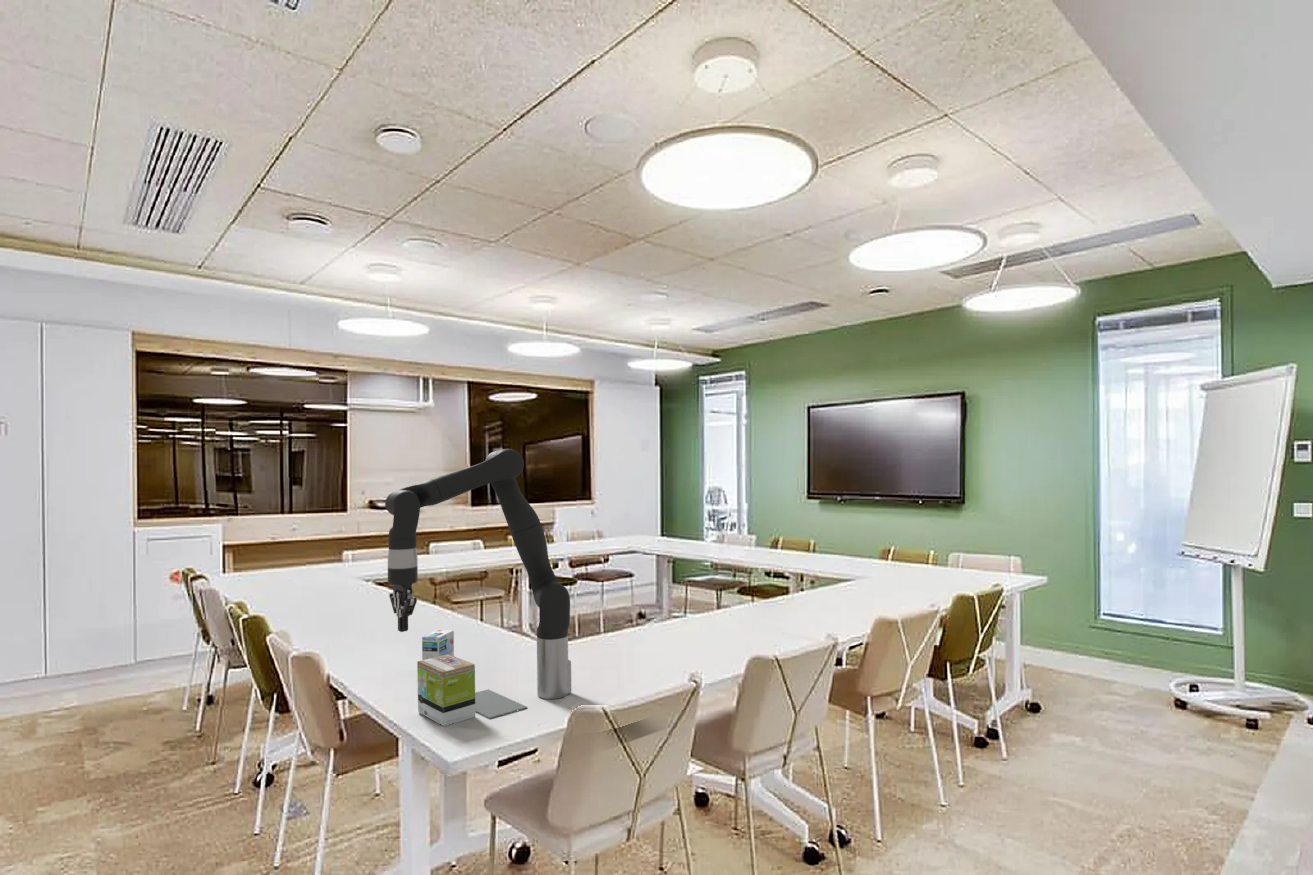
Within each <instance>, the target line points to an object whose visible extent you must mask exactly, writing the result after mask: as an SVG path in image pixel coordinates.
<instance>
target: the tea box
mask: <svg viewBox="0 0 1313 875" xmlns="http://www.w3.org/2000/svg"><path fill="white" fill-rule="evenodd" d="M416 663H417V666H416V668H417V669H416V670H417V671H416V672H417V710H418V713H419V714H421V715H423V716H425V717H427V718H429V719H430V720H431V721H434V722H435V723H437V724H439V725H440V724H441V725H440V726H442V727H446V725H447V726H450V725H453V724H452V723H454V724H457V723H460V722H463V721H466V720H470V719H473V718H475V717H476V712H475V693H476V669H475V668H476V666H475V665H476V664H475V663H472V662H469V661H467V660H464V659H462V658H459V657H456V656H455V655H454V656H452V655H449V654H447V655H442V656H438V657H434V658H430V659H426V660H422V659H421V660H417V662H416ZM449 724H450V725H449Z"/></svg>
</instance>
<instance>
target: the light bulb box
mask: <svg viewBox="0 0 1313 875" xmlns="http://www.w3.org/2000/svg"><path fill="white" fill-rule="evenodd" d="M421 643H422V644H421V648H422V650H421V651H422V653H421V654H422V655H421V656H422V657H421V661H422V660H426V659H430V658H434V657H438V656H442V655H447V654H449V655H452V656H454V657H455V649H454V648H455V646H454V645H455V632H454V630H447V629H436V630H433V631H432V632H430V633H428V634H426V635H423V636H422V637H421Z"/></svg>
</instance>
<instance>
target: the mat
mask: <svg viewBox="0 0 1313 875" xmlns="http://www.w3.org/2000/svg"><path fill="white" fill-rule="evenodd" d="M525 708H527V709H528V706H526V705H524V704H522V703H520V702H517V701H515V700H513V699H511V698H509V697H506V696H504V695H502V694H499V693H498V692H496V691H493V690H490V689H484V690H481V691H475V714H476V713H477V714H479V715H480V714H481V716H482V715H483V716H482V717H484V718H487V719H488V720H492V719H495V718H498V717H501V716H500V715H502V716H504V715H503V714H506V715H508V713H509V714H512V713H511V712H513V713H515V711H516V712H518V711H517V710H520V711H523V710H526V709H525ZM497 716H498V717H497Z"/></svg>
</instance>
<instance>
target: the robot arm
mask: <svg viewBox="0 0 1313 875" xmlns="http://www.w3.org/2000/svg"><path fill="white" fill-rule="evenodd" d="M524 466H525V462H524V458H523V455H522V454H521V453H520V452H519V451H517V450H515V449H511V448H502V449H499V450H494V451H492V452H490V453H489V454H488V455H487V456H486V458H485V460H484V461H483V462H479V463H477V464H474V465H471V466H468V467H466V468H461V469H458V470H453V471H451V472H447V473H444V474H441V475H438V476H435V477H433V478H430V479H428V480H426V481H422V482H421V483H418V484H413V485H409V486H405V487H402V488H399V489H396V490H393V491H391V493H389V494H388V495H387V497H386V499H385V502H384V506H385V509H386V511H387V513H389V514H390V515H392V516H393V518H392V527H390V528H389V530H388V552H387V584H388V585H390V586H393V587H392V590H393V591H392V593H389V596H388V597H389V600H390V603H391V607H392V611H393V614H396V617H397V631H398V632H400V633H403V632H408V630H409V617H410V616H412V615H413V614H414V611H415V607H416V606H417V603H418V599H417V597H413V595H414V592H413V586H412V585H413V584H416V583H418V581H419V580H418V579H419V577H418V575H419V573H418V572H419V571H418V566H419V565H418V551H417V549H418V548H417V529H418V525H419V518H420V514H421V508H424V507H428V506H429V507H431V506H435V505H438V504H442V503H443V502H446V501H449V500H451V499H454V498H456V497H458V496H460V495H463V494H466V493H468V492H470V491H472V490H474V489H477V488H480V487H483V486H486V485H489V484H491V486H492V488H493V491H494V492H495V495H496V496H497V499H498V501H499V504H500V507H501V510H502V513H503V515H504V518H505V521H506V524H507V527H508V529H509V532H510V535H511V538H512V540H513V543H514V546H515V549H516V550H517V553H518V555H519V558H520V559H521V562H522V564H523V566H524V568H525V570H526V572H527V576H528V580H529V583H530V588H531V591H532V595H533V599H534V602H535V604H536V606H537V608H538V609H539V611H538V612H539V613H538V615H539V617H538V618H539V619H538V626H537V627H536V671H537V672H536V674H537V675H536V680H537V681H536V682H537V683H536V685H537V686H536V687H537V690H536V691H537V692H536V695H537V696H538V697H539V698H541V699H546V700H554V699H561V698H564V697H566V696H568V695H569V694H571V693H572V661H571V660H570V659H569V628H570V621H571V598H570V597H571V596H570V592H569V590H568V589H567V587H566V586H564V585H563V584H561V583H559V581H558V578H557V577H556V575H555V573H554V570H553V569H552V566H551V563H550V559H549V558H550V557H549V552H548V544H547V539H546V538H547V537H546V534H545V532H544V529H543V526H542V523H541V520H540V518H539V516H538V514H537V512H536V511H535V510H534V508H533V507H532V506H531V504H530V503H529V502H528V500H527V499H526V498H525V497H524V495H523V493H522V491H521V489H520V487H519V484H518V480H517V477H519V476H520V474H522V472H523V470H524Z"/></svg>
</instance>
